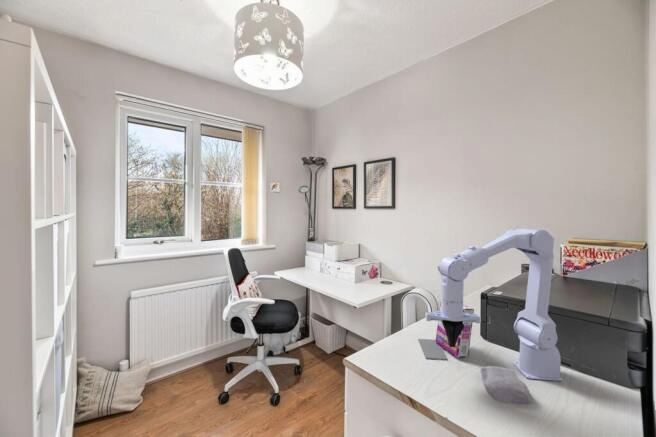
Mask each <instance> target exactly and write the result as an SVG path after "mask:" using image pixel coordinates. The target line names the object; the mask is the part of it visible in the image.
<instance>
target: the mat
mask: <svg viewBox="0 0 656 437" xmlns="http://www.w3.org/2000/svg"><path fill="white" fill-rule="evenodd" d="M417 339H418V343H419V345H420V348H421V350H422V353H423V355H424V358H425V360H437V361H439V360H441V361H449V360H448V357H447V355H446V352H444V348H443V347H441V346H440V345H439V344H437V343H436V339H430V338H417Z"/></svg>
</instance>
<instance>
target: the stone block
mask: <svg viewBox="0 0 656 437" xmlns="http://www.w3.org/2000/svg"><path fill="white" fill-rule="evenodd" d="M480 375H481V379H482V384H483V385H484V388H485V391H486V393H487V394H489V396H491V398H492V399H494V400H495V401H497V402H503V403H507V404H514V403H515V404H519V405H521V404H525V405H529V404H530V402H531V401H530V399H531V398H530V389H529V388H528V387H527V384H525V382H524V381H523V380H521V379H520V378H519V377H518V376H517V374H516V371H515V370H514V369H511V368H510V369H509V368H506V367H501V366H496V365H495V366H492V365H489V366H484V367H482V368H480Z"/></svg>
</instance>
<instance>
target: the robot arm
mask: <svg viewBox="0 0 656 437" xmlns="http://www.w3.org/2000/svg"><path fill="white" fill-rule="evenodd" d="M554 244H555V238H554V237H553V235H551V234H550V233H549V232H548V231H547V230H545V229H534V228H533V229H531V228H522V227H518V226H517V227H514V228H511V229H509V230H506V232H504V234H503V235H500V236H499V237H497V238H495V239H494V240H492V241H490V242H489V243H486V244H485V245H483V246H478V245H469V246H468V247H467V249H466V250H464V251H462V252H459V253H458V252H457V253H455V254H454V255H453V256H446V257H443V258H442V259H441V260H440V262H439V264H438V265H437V270H438V272H439V274H440V275H441V276H440V277H441V299H442V308H441V311H438V310H437V311H425V313H424V314H425V316H424V317H425V318H424V319H425V320H426V321H427V322H431V321H437V322H438V321H441V322H442V324H443V326H444V329H445V331H446V335H447V339H448V344H449V346H450V347H455V345H456V342H457V339H458V337H459V335H460V333H461V331H462V330H463V329H464V324H463V322H473V323H475V324H481V317H480V315H479V314H478V313H474V314H470V313H464V312H463V305H464V286H465V284H464V283H465V282H464V280H465V279H467V278H468V275H469V273H471V272H473V271H475V270H476V269H478V268H481V267H482V266H485V265H487V264H488V262H489V259H490V258H491V257H494V256H497V255H498V254H501V253H503V252H506V251H508V250H510V249H516V250H518V251H520V252H522V253H523V254H524V255H525V256H526V257H527V258H528V259H529V267H528V268H529V269H528V277H527V278H528V279H527V288H526V295H525V296H526V297H525V306H524V309H523V310H521V311H519V312H517V316H516V317H517V318H516V319H515V321H514V324H513V330H514V332H515V334H517V337H518V339H519V359H518V361H513V362H512V364H513V365H514V367H516V369H517V370H518V371H519V372H520V373H521V375H523V376H524V377H525V378H526V379H530V380H547V381H559V382H560V381H562V380H563V379H562V378H561V360H562V359H561V358H562V357H561V354H560V351H559V349H558V348H557V346H556V344H557V342H558V334H557V331H556V330H557V329H556V328H557V325H556V323H555V322H554V320H553V319H552V318H551V316H549V314H548V312H549V305H550V294H551V293H550V292H551V287H552V286H551V283H552V277H553V269H554V268H553V266H554V257H555V256H554ZM562 382H563V381H562Z"/></svg>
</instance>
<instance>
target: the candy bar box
mask: <svg viewBox="0 0 656 437" xmlns="http://www.w3.org/2000/svg"><path fill="white" fill-rule="evenodd" d="M441 308H442V298H440V303H439V311H441ZM463 312H464V313H470V314H475V309H474V308H472V307H469V306H468V305H465V304H463ZM473 323H474V322H463V324H464V329H463V330H462V331H461V333H460V335H459V337H458V339H457V342H456V345H455V347H450V346H449V344H448V339H447V335H446V331H445V329H444V326H443V324H442V322H441V321H437V328H436V335H435V340H436V343H437V344H439V345H440V346H441V347H442V349H443V350H445V351H448V352H449V353H450V354H452V355H453V356H454V357H456V358H457V359H458V358H461V359H462V358H469V355H470V346H471V345H470V344H471V339H472V338H471V337H472V328H473Z"/></svg>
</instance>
